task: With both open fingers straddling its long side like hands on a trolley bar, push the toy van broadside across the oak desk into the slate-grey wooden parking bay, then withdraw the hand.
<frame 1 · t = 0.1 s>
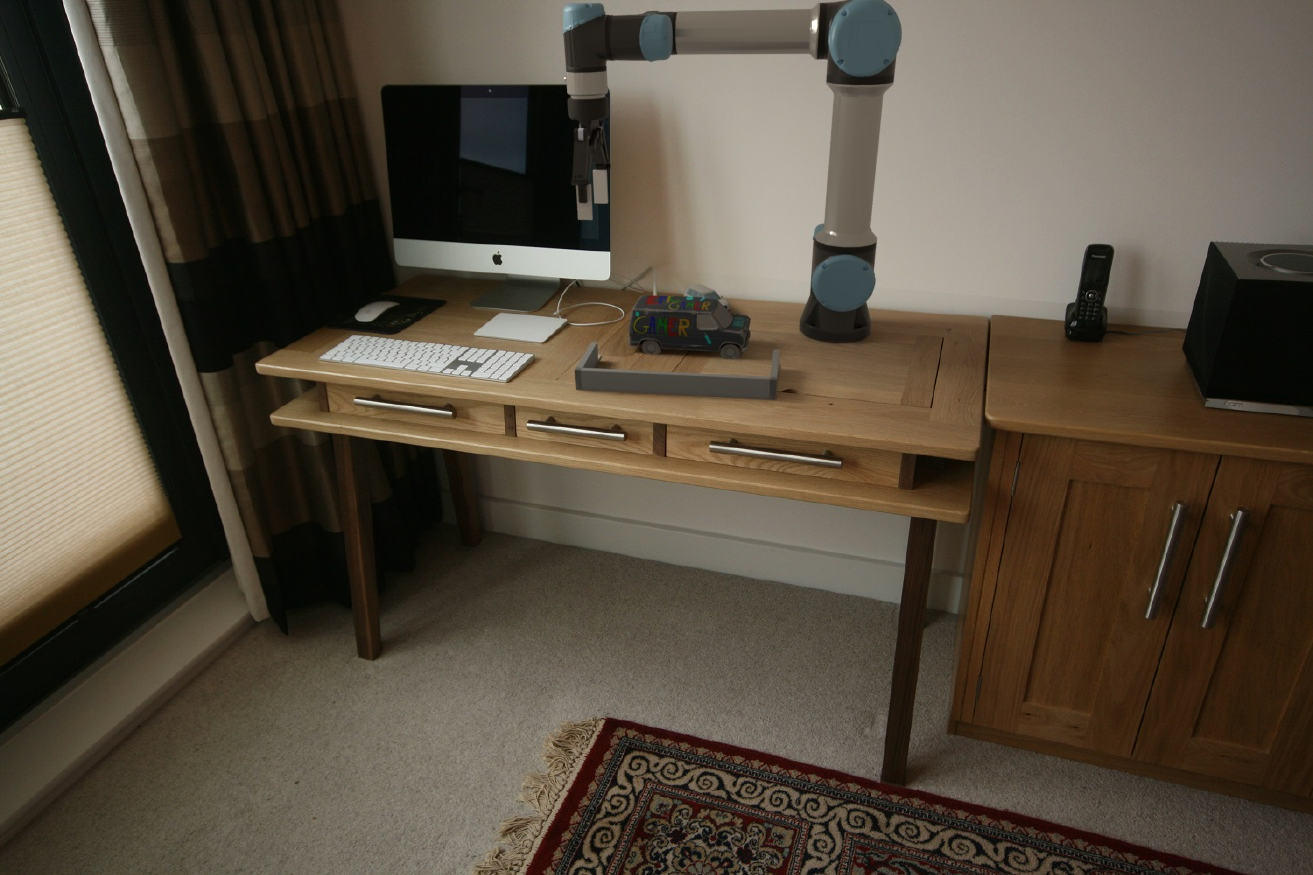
hand: (593, 211, 171), 28 cm above the table, fingers open, 13 cm apart
toy van: (690, 348, 181), on the table
bay: (679, 377, 167), on the table
toy car: (706, 311, 201), on the table
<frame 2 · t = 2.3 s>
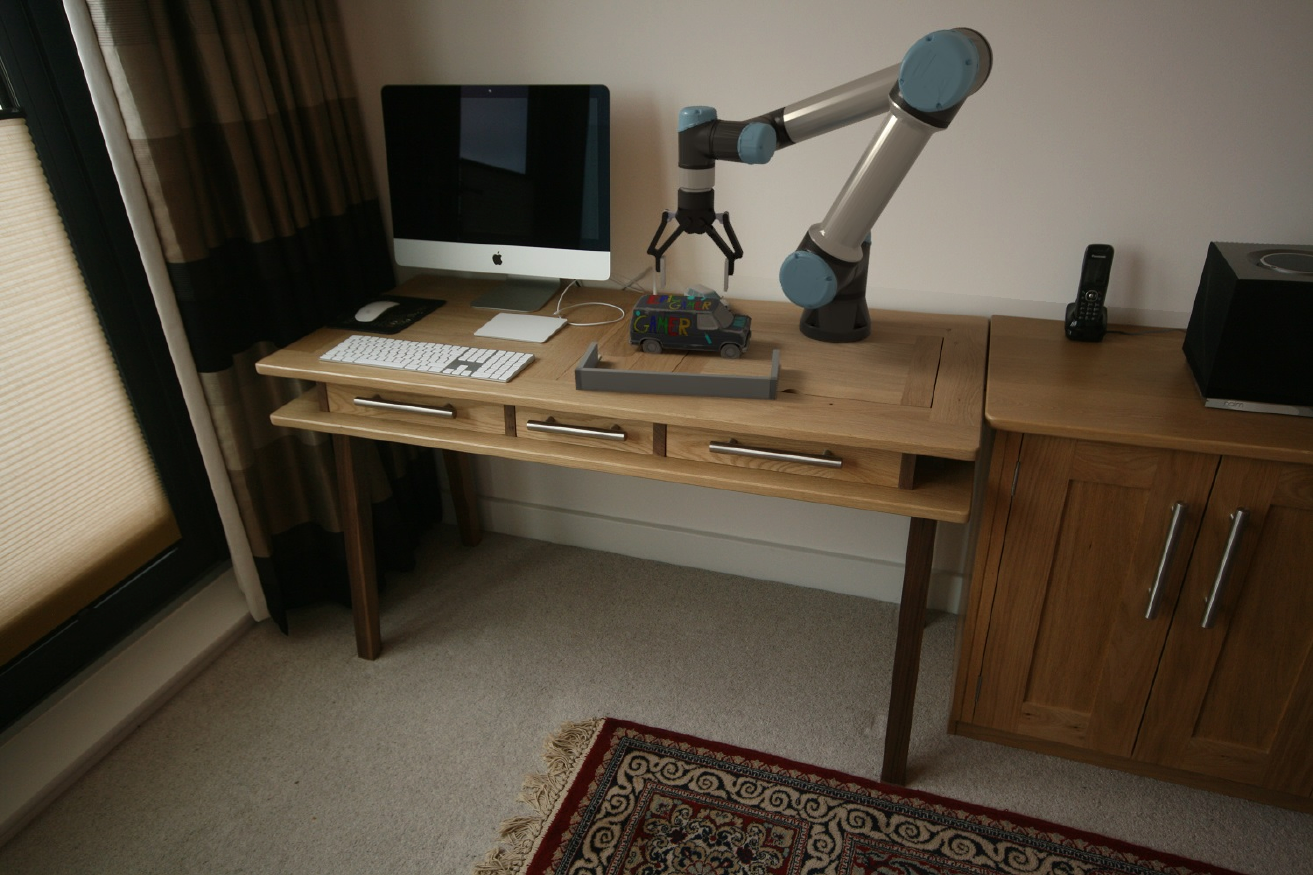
hand: (694, 288, 186), 9 cm above the table, fingers open, 13 cm apart
nothing on the table moved.
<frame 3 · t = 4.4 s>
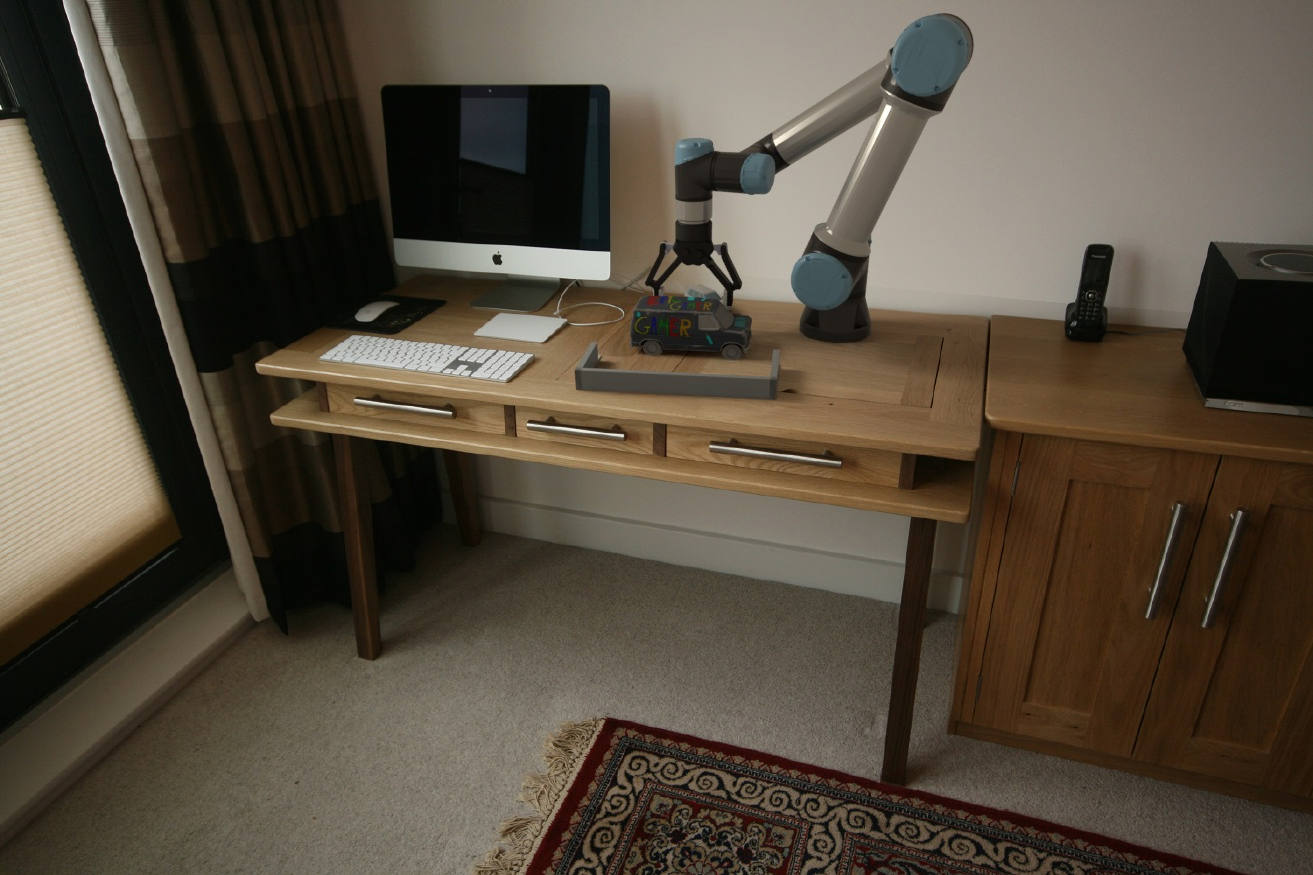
hand: (693, 319, 185), 4 cm above the table, fingers open, 13 cm apart
toy van: (691, 349, 181), on the table, touching gripper
everything else where it was.
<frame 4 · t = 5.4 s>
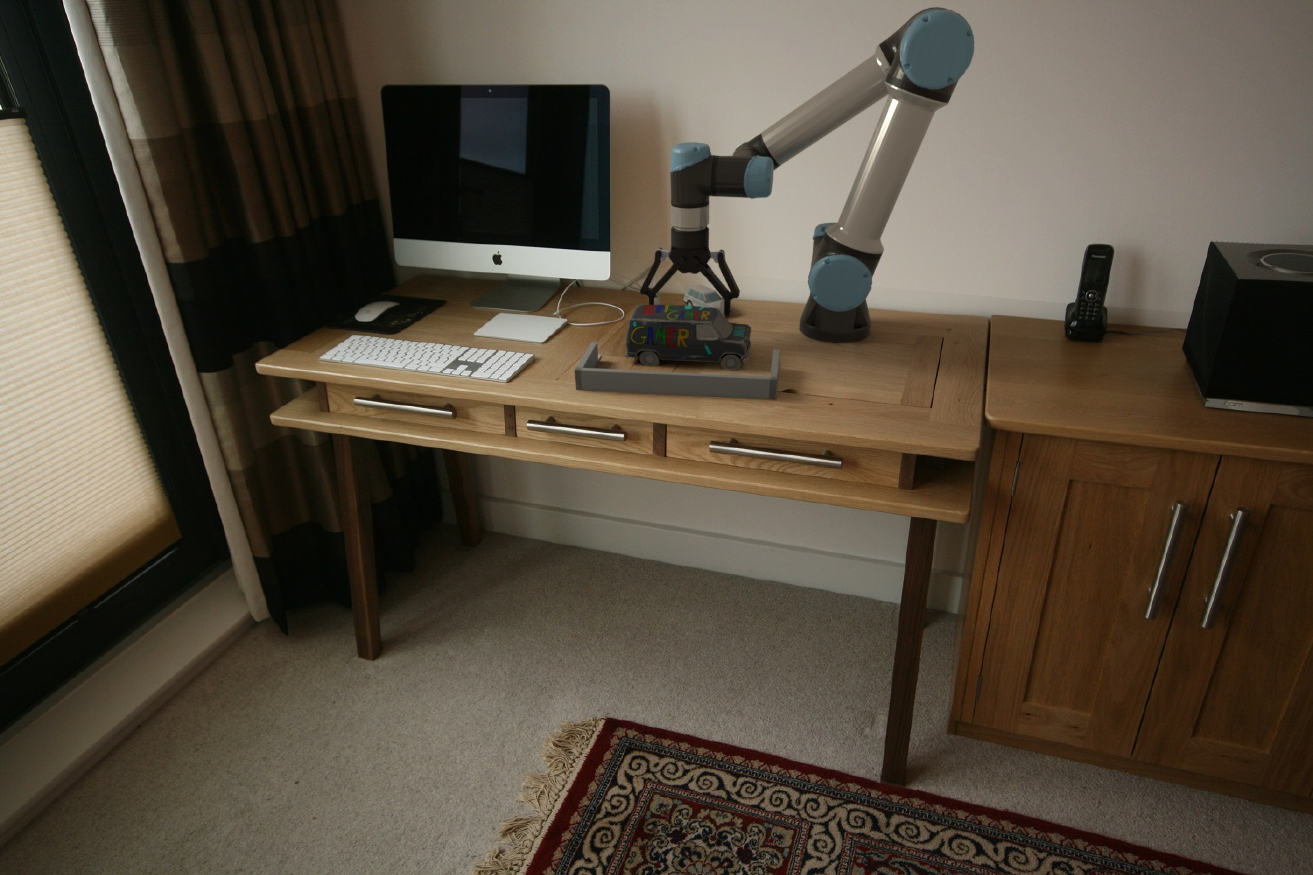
hand: (689, 328, 180), 4 cm above the table, fingers open, 13 cm apart
toy van: (688, 359, 176), on the table
everything else where it was.
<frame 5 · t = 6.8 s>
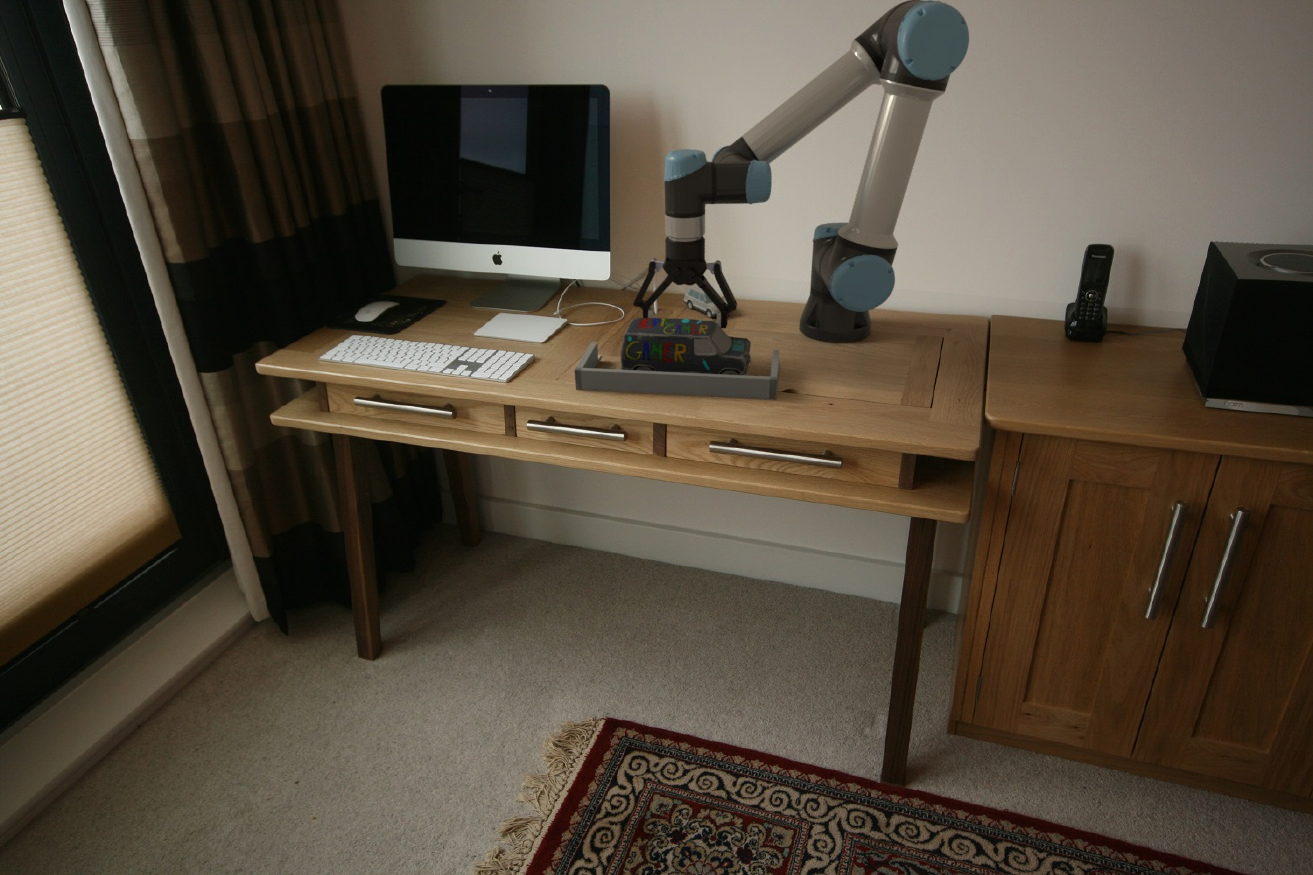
hand: (685, 341, 174), 4 cm above the table, fingers open, 13 cm apart
toy van: (686, 374, 169), on the table, touching gripper
everything else where it was.
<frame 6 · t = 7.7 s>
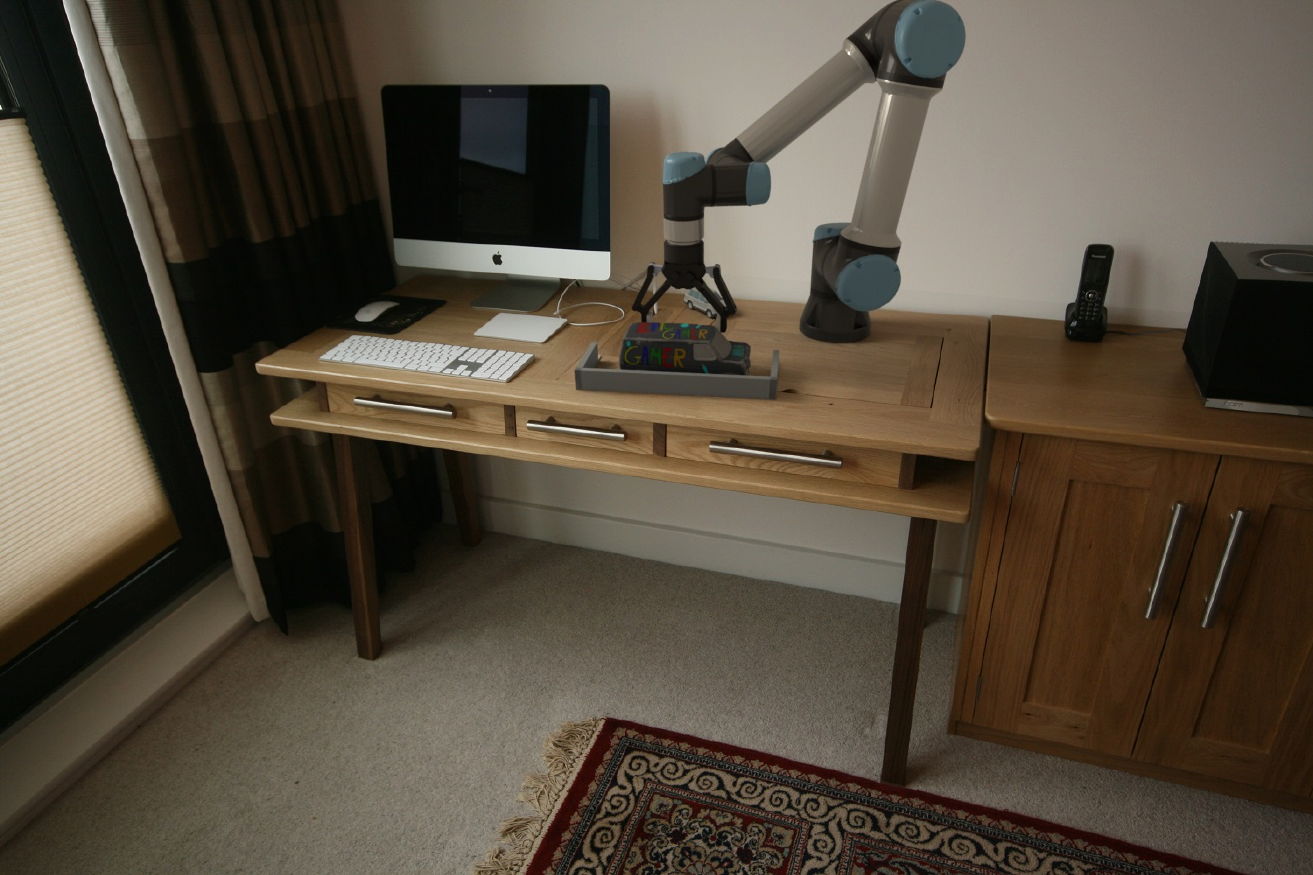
hand: (684, 346, 172), 4 cm above the table, fingers open, 13 cm apart
toy van: (685, 379, 168), on the table
everything else where it was.
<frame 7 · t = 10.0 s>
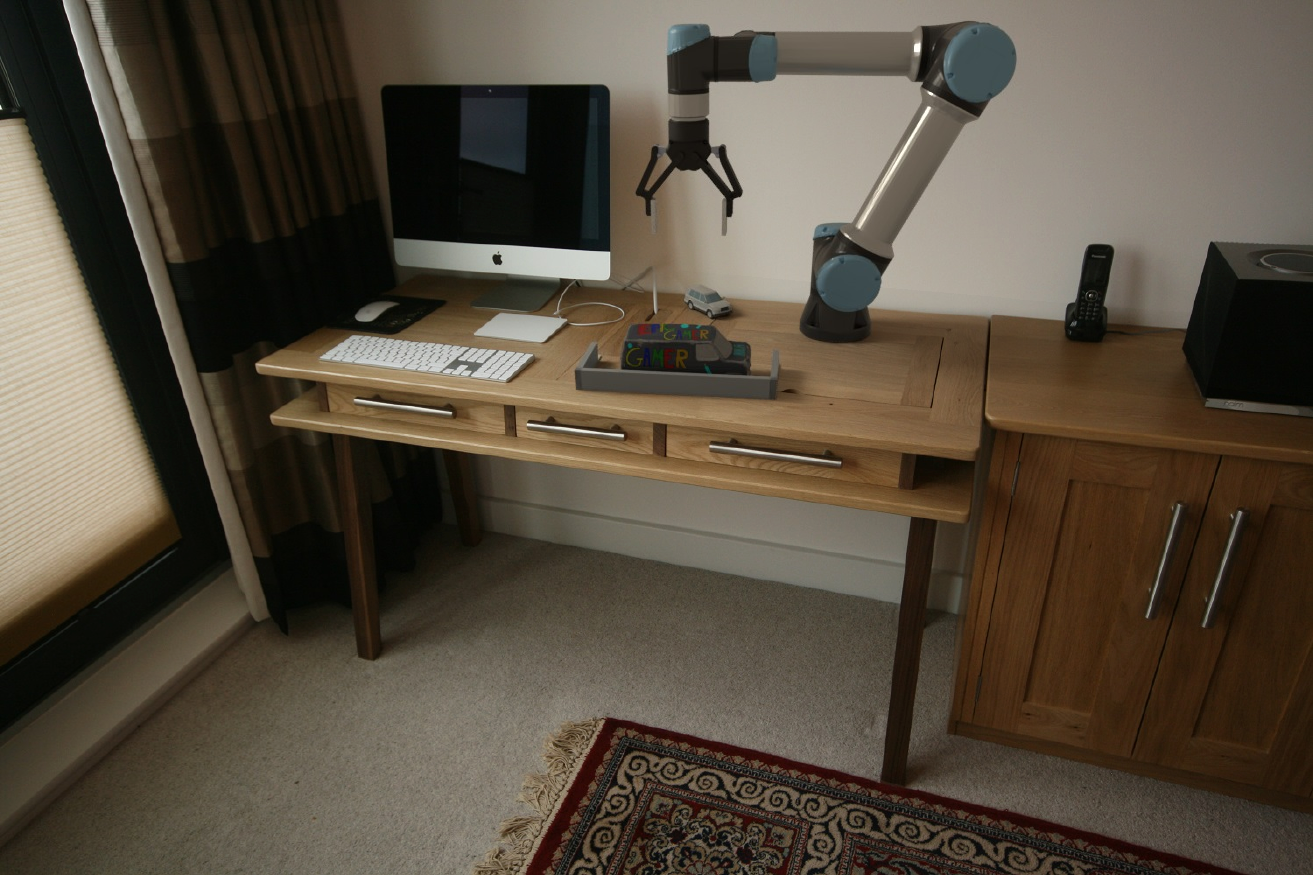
hand: (689, 233, 168), 24 cm above the table, fingers open, 13 cm apart
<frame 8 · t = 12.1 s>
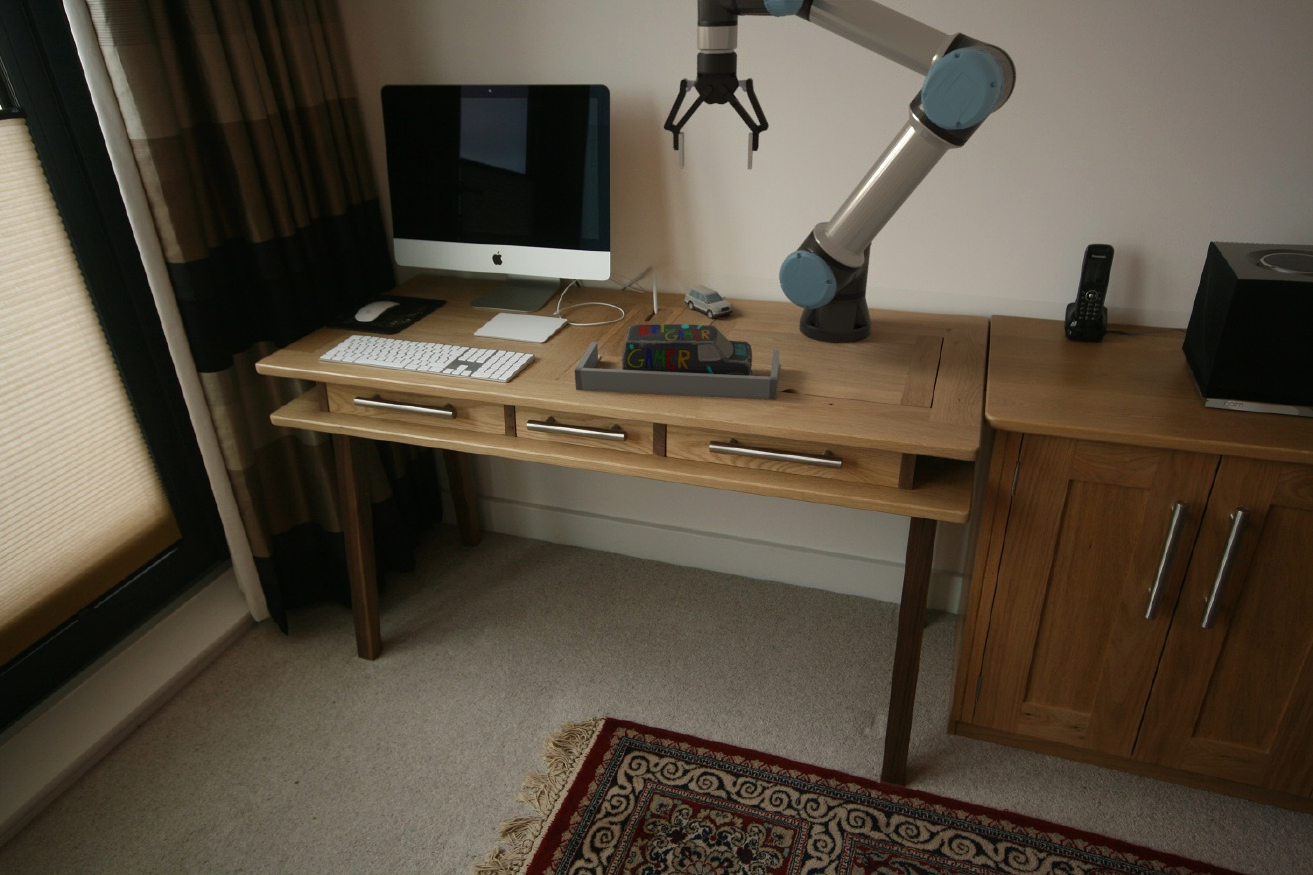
hand: (715, 168, 172), 35 cm above the table, fingers open, 13 cm apart
nothing on the table moved.
at the end: toy van inside the target area on the bay (1.6 cm from its centre), point 0.0 cm above the bay's base; toy van tilted 0° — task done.
